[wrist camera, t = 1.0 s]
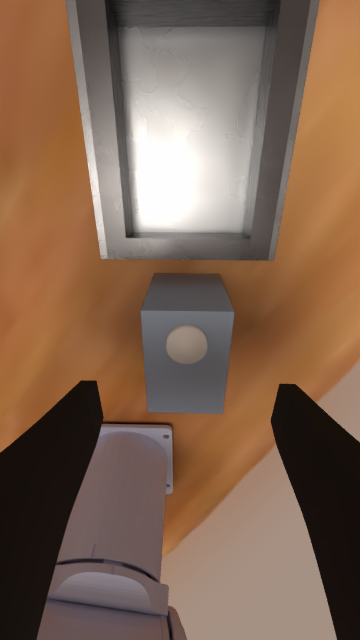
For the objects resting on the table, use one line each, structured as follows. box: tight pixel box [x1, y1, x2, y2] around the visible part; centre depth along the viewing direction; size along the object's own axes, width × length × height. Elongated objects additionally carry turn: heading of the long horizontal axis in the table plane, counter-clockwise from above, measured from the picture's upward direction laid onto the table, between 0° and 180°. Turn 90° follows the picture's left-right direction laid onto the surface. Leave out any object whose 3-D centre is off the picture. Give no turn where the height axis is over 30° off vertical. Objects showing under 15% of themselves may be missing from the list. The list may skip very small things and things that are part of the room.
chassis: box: [66, 0, 320, 260], centre depth 12 cm, size 11×10×2 cm
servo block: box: [141, 273, 234, 414], centre depth 14 cm, size 6×4×6 cm, turn 0°
